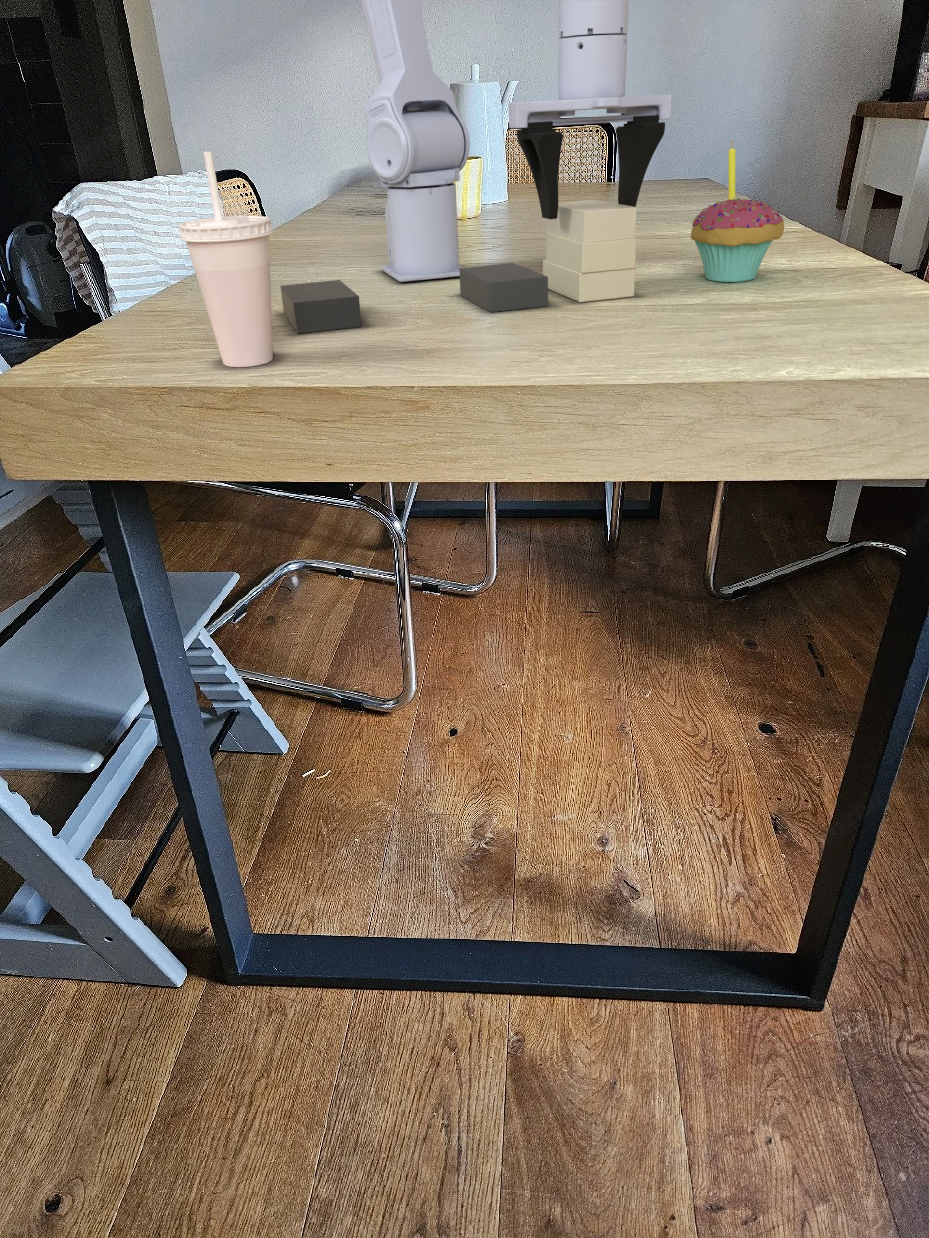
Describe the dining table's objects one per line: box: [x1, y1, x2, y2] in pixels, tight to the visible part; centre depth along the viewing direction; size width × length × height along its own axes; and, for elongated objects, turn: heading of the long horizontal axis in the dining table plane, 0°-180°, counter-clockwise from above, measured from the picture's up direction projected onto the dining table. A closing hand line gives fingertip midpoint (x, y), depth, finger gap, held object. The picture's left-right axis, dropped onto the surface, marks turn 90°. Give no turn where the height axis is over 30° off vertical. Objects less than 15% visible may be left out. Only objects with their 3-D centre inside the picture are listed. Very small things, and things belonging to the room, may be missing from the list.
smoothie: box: [178, 150, 274, 368], centre depth 63 cm, size 6×6×14 cm
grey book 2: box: [459, 262, 549, 313], centre depth 82 cm, size 9×6×2 cm, turn 17°
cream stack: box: [542, 232, 637, 303], centre depth 83 cm, size 9×6×5 cm, turn 17°
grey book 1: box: [279, 279, 363, 335], centre depth 78 cm, size 9×6×2 cm, turn 17°
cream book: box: [545, 199, 638, 243], centre depth 81 cm, size 9×5×2 cm, turn 17°
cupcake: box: [690, 138, 785, 283], centre depth 84 cm, size 9×8×12 cm
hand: (588, 215), depth 81 cm, fingers open, 7 cm apart
